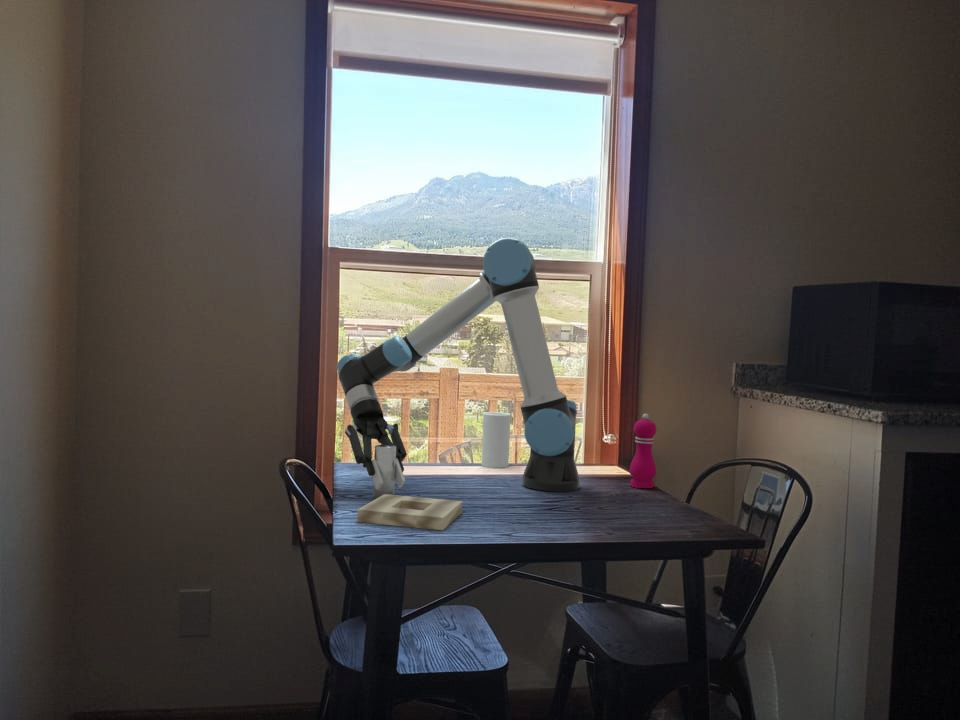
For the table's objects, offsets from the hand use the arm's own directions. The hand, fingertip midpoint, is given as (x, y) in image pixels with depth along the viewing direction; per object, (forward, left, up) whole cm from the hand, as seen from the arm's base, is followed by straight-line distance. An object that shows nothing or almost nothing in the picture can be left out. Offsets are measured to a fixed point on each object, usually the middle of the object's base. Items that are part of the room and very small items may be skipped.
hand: (391, 485), depth 169 cm
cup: (-13, -58, -4) cm, 59 cm away
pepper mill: (-57, -42, -4) cm, 71 cm away
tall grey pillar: (+3, -3, -3) cm, 5 cm away
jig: (-9, +13, -3) cm, 17 cm away
